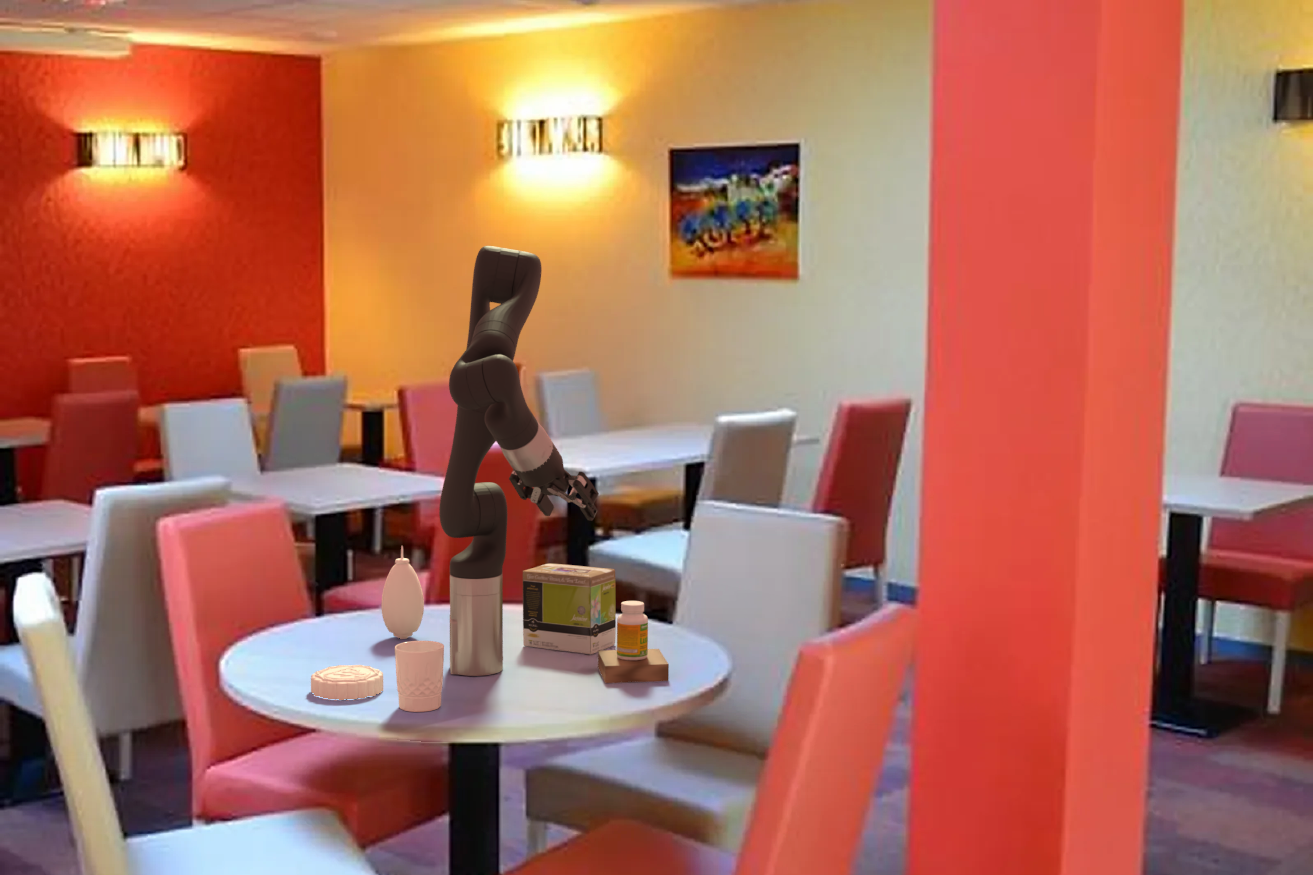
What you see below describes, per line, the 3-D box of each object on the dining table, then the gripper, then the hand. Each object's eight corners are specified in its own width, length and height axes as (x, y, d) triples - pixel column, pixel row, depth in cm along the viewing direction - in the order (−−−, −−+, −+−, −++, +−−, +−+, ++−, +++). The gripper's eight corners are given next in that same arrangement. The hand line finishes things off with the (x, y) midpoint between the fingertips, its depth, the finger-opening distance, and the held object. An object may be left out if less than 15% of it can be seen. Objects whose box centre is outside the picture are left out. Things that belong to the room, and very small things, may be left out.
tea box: (617, 645, 299) (617, 568, 297) (590, 656, 290) (590, 577, 289) (549, 635, 306) (549, 560, 304) (521, 646, 297) (520, 569, 296)
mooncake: (346, 706, 257) (346, 684, 257) (295, 694, 264) (295, 673, 264) (398, 690, 267) (398, 669, 267) (347, 679, 274) (347, 659, 273)
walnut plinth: (605, 683, 272) (605, 666, 271) (597, 667, 282) (597, 650, 282) (668, 681, 273) (668, 664, 273) (658, 665, 284) (658, 648, 284)
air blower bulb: (374, 637, 304) (373, 544, 302) (408, 631, 309) (407, 540, 307) (396, 644, 298) (395, 550, 296) (431, 638, 303) (430, 545, 301)
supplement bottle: (644, 662, 274) (644, 607, 273) (613, 660, 275) (614, 605, 274) (650, 654, 279) (650, 600, 278) (620, 652, 280) (620, 599, 279)
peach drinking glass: (446, 700, 261) (446, 640, 260) (441, 713, 253) (441, 652, 252) (398, 700, 260) (398, 640, 259) (392, 713, 252) (391, 652, 251)
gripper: (577, 436, 247) (616, 499, 258) (503, 430, 255) (545, 492, 266) (557, 473, 243) (598, 536, 254) (483, 466, 251) (526, 528, 262)
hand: (571, 514), depth 260 cm, fingers open, 8 cm apart
